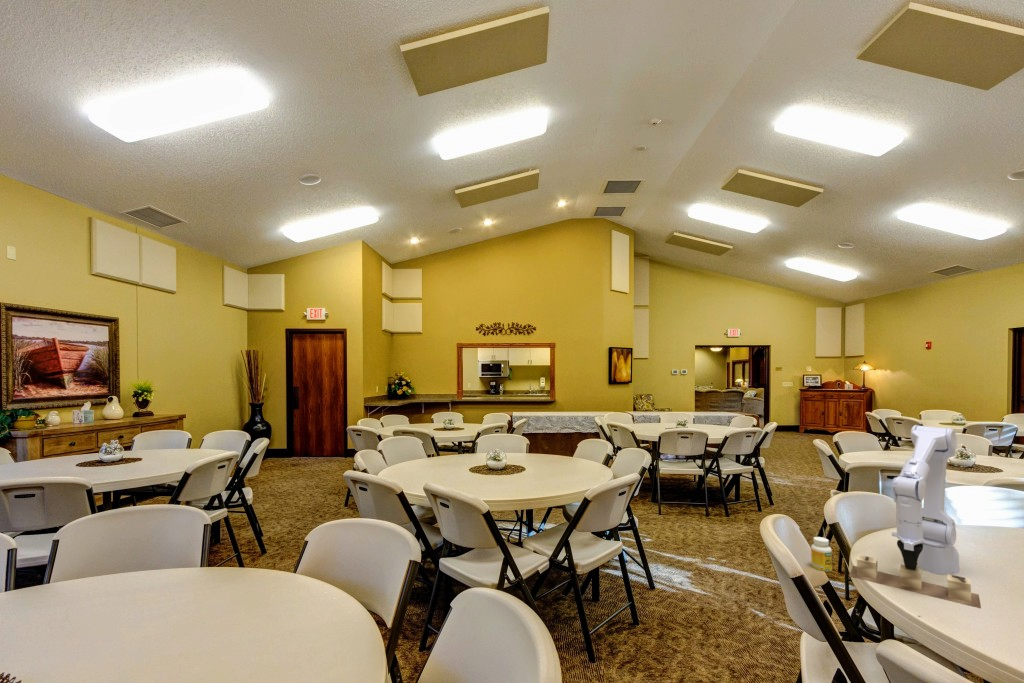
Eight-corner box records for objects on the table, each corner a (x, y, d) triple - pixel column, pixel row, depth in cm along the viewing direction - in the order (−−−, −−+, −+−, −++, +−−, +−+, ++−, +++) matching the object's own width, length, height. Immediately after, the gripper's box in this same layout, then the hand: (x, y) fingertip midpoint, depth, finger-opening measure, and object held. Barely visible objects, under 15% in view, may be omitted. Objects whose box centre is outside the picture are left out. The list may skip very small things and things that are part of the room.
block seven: (948, 596, 130) (947, 578, 130) (947, 590, 133) (947, 573, 133) (971, 602, 127) (970, 583, 127) (970, 596, 130) (969, 577, 131)
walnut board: (848, 579, 142) (848, 576, 142) (853, 568, 150) (853, 565, 150) (981, 612, 124) (981, 608, 124) (978, 598, 131) (978, 594, 131)
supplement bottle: (816, 565, 152) (816, 534, 152) (835, 572, 147) (834, 540, 148) (808, 569, 149) (807, 538, 149) (827, 576, 144) (826, 543, 145)
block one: (857, 574, 143) (856, 558, 143) (858, 569, 147) (858, 553, 147) (876, 579, 140) (875, 562, 140) (877, 574, 144) (877, 557, 144)
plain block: (900, 585, 137) (900, 568, 137) (901, 579, 140) (900, 564, 140) (921, 590, 134) (920, 573, 134) (921, 584, 137) (921, 568, 137)
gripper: (893, 511, 146) (894, 557, 145) (889, 523, 135) (890, 573, 134) (923, 516, 141) (925, 564, 140) (922, 529, 130) (924, 580, 129)
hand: (910, 569), depth 137 cm, fingers closed, pressing on plain block
